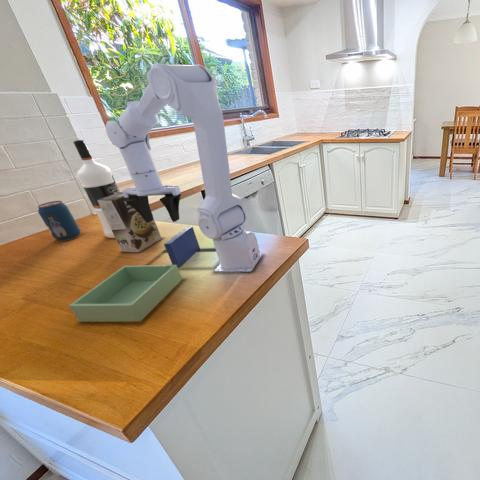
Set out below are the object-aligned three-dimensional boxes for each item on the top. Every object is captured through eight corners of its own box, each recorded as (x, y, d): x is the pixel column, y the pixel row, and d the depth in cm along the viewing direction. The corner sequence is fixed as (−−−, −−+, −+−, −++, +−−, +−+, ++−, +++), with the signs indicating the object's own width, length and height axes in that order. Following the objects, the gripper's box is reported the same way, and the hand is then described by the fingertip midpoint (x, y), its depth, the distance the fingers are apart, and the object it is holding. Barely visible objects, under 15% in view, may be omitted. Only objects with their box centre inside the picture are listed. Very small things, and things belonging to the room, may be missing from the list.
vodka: (108, 232, 99) (61, 141, 85) (139, 224, 103) (100, 136, 89) (104, 242, 92) (53, 144, 78) (138, 233, 96) (95, 139, 82)
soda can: (79, 231, 102) (60, 198, 96) (85, 235, 98) (66, 201, 92) (53, 239, 97) (32, 205, 91) (58, 244, 93) (37, 209, 87)
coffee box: (139, 252, 84) (114, 200, 76) (121, 252, 85) (95, 200, 77) (163, 238, 91) (142, 189, 84) (146, 237, 93) (124, 189, 85)
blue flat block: (200, 248, 83) (192, 226, 79) (179, 268, 74) (169, 243, 70) (195, 248, 83) (187, 226, 79) (173, 268, 74) (163, 244, 71)
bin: (183, 280, 69) (176, 264, 67) (141, 323, 57) (131, 305, 55) (132, 281, 70) (124, 265, 68) (80, 323, 58) (68, 305, 56)
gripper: (103, 177, 70) (127, 227, 76) (159, 174, 69) (179, 226, 75) (125, 169, 76) (146, 217, 82) (177, 167, 75) (194, 215, 81)
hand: (163, 220), depth 79 cm, fingers open, 7 cm apart
